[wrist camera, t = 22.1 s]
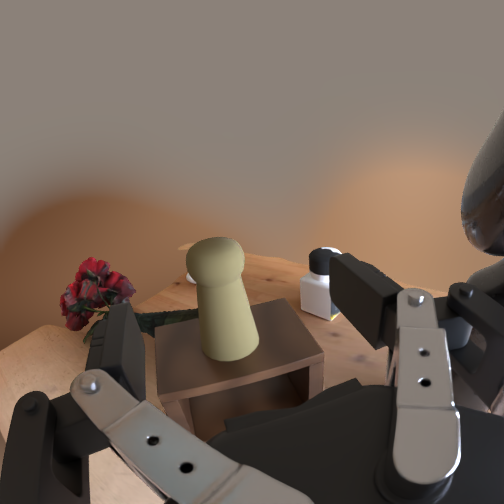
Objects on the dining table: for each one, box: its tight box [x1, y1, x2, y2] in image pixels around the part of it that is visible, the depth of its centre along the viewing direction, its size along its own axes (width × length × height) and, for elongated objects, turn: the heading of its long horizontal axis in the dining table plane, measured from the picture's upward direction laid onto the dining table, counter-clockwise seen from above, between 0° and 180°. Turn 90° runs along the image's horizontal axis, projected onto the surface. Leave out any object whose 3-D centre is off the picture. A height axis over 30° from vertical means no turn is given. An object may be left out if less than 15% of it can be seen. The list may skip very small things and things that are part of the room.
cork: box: [186, 237, 259, 361], centre depth 30 cm, size 6×6×11 cm
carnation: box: [60, 257, 199, 344], centre depth 58 cm, size 16×18×35 cm
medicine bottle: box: [300, 247, 341, 321], centre depth 59 cm, size 7×7×12 cm
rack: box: [155, 298, 324, 443], centre depth 35 cm, size 16×11×15 cm
